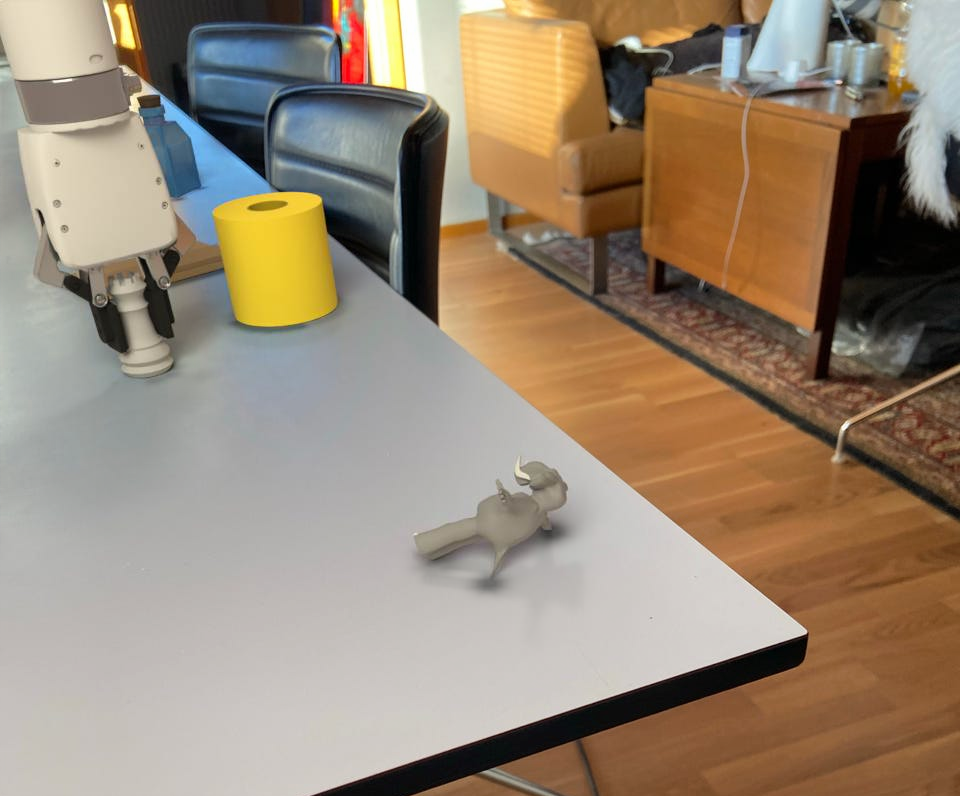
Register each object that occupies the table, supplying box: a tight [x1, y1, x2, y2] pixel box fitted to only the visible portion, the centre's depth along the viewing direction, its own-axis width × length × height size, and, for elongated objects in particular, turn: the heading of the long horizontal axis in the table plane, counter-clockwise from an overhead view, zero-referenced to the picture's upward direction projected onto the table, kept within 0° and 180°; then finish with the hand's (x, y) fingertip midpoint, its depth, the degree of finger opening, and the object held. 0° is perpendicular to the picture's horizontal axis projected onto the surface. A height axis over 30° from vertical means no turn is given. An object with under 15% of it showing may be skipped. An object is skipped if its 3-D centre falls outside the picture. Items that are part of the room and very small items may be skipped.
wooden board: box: [71, 240, 224, 301], centre depth 111 cm, size 16×10×1 cm, turn 129°
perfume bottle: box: [136, 93, 202, 198], centre depth 140 cm, size 6×6×12 cm
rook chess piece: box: [107, 271, 174, 379], centre depth 86 cm, size 4×4×8 cm
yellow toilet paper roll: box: [211, 191, 339, 328], centre depth 96 cm, size 10×10×9 cm
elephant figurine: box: [412, 454, 569, 580], centre depth 58 cm, size 10×6×9 cm
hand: (140, 339), depth 86 cm, fingers closed on rook chess piece, 3 cm apart
